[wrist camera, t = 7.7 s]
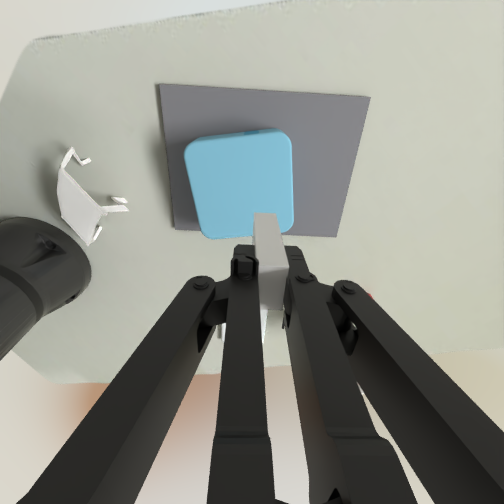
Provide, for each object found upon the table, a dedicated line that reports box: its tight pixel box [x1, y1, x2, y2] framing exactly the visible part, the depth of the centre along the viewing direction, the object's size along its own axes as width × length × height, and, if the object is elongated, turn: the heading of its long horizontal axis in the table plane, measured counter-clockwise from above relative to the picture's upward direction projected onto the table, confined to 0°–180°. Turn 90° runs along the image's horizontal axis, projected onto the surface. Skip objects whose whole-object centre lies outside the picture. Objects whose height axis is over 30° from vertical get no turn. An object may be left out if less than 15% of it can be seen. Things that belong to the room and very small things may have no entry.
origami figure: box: [57, 147, 129, 246], centre depth 33 cm, size 12×8×5 cm
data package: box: [184, 128, 294, 239], centre depth 32 cm, size 12×4×12 cm
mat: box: [159, 84, 371, 237], centre depth 34 cm, size 24×18×1 cm
